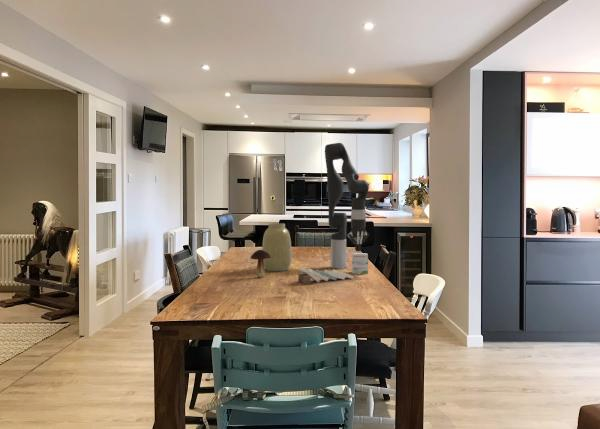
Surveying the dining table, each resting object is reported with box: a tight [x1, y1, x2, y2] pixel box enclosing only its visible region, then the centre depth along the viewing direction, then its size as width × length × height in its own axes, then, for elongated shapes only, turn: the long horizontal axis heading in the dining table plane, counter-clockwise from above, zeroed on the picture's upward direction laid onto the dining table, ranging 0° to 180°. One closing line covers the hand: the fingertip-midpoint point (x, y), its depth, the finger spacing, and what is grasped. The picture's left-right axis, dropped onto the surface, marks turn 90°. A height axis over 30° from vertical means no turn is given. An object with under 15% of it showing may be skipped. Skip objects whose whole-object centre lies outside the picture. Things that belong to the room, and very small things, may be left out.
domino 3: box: [315, 269, 337, 281], centre depth 226 cm, size 5×2×10 cm
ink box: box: [351, 252, 369, 275], centre depth 247 cm, size 9×5×12 cm, turn 84°
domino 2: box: [307, 268, 328, 281], centre depth 224 cm, size 5×2×10 cm
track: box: [293, 272, 363, 286], centre depth 227 cm, size 10×35×5 cm, turn 115°
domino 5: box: [331, 268, 355, 279], centre depth 230 cm, size 5×2×10 cm
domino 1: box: [299, 266, 320, 282], centre depth 222 cm, size 5×2×10 cm
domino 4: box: [323, 269, 345, 280], centre depth 228 cm, size 5×2×10 cm
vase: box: [261, 222, 292, 272], centre depth 262 cm, size 17×17×27 cm
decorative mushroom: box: [250, 249, 271, 279], centre depth 238 cm, size 11×11×15 cm
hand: (358, 251), depth 234 cm, fingers closed
